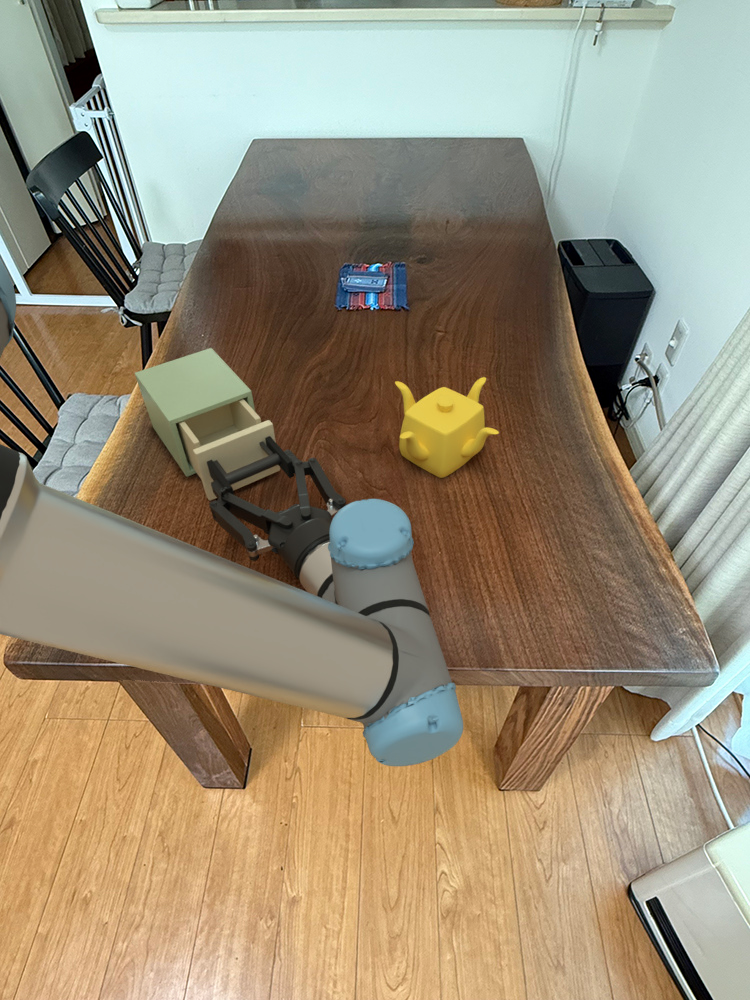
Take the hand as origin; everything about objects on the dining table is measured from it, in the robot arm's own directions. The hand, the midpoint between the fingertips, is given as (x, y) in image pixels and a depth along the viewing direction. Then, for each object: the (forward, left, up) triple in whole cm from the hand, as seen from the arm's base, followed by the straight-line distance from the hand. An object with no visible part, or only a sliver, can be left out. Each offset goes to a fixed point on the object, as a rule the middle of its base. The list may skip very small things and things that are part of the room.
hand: (240, 456), depth 83 cm
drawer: (-2, +5, -6) cm, 8 cm away
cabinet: (-5, +15, -7) cm, 17 cm away
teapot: (+30, +2, -7) cm, 31 cm away
